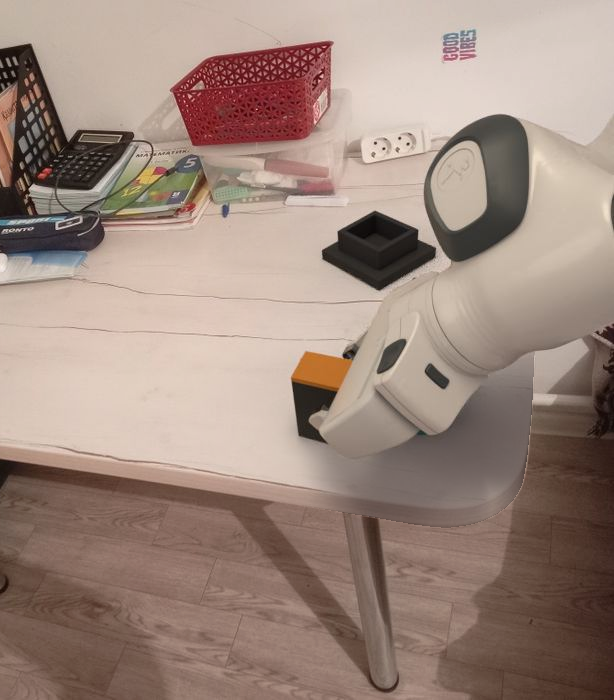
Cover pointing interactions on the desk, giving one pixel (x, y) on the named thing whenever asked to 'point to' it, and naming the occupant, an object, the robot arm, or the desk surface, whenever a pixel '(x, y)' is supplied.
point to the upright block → (316, 388)
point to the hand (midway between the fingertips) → (332, 387)
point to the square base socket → (378, 250)
